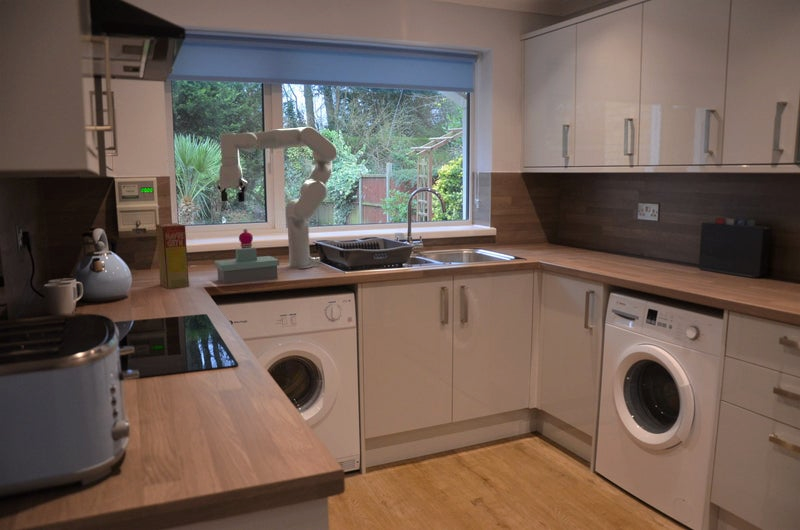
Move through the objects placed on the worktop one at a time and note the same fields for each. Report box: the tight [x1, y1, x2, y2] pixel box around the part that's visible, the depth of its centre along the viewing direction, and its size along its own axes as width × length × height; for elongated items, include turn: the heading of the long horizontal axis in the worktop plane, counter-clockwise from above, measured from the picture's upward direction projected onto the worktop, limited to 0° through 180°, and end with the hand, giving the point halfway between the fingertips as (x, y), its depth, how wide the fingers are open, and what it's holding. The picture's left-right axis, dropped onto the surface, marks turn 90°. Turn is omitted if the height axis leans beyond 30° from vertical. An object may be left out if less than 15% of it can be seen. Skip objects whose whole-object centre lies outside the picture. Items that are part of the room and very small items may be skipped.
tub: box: [216, 266, 279, 285], centre depth 268 cm, size 22×12×8 cm, turn 118°
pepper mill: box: [238, 228, 254, 248], centre depth 285 cm, size 7×7×20 cm
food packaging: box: [155, 222, 190, 290], centre depth 261 cm, size 13×9×25 cm
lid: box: [214, 246, 280, 271], centre depth 267 cm, size 24×14×7 cm, turn 118°
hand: (233, 201), depth 282 cm, fingers open, 9 cm apart
